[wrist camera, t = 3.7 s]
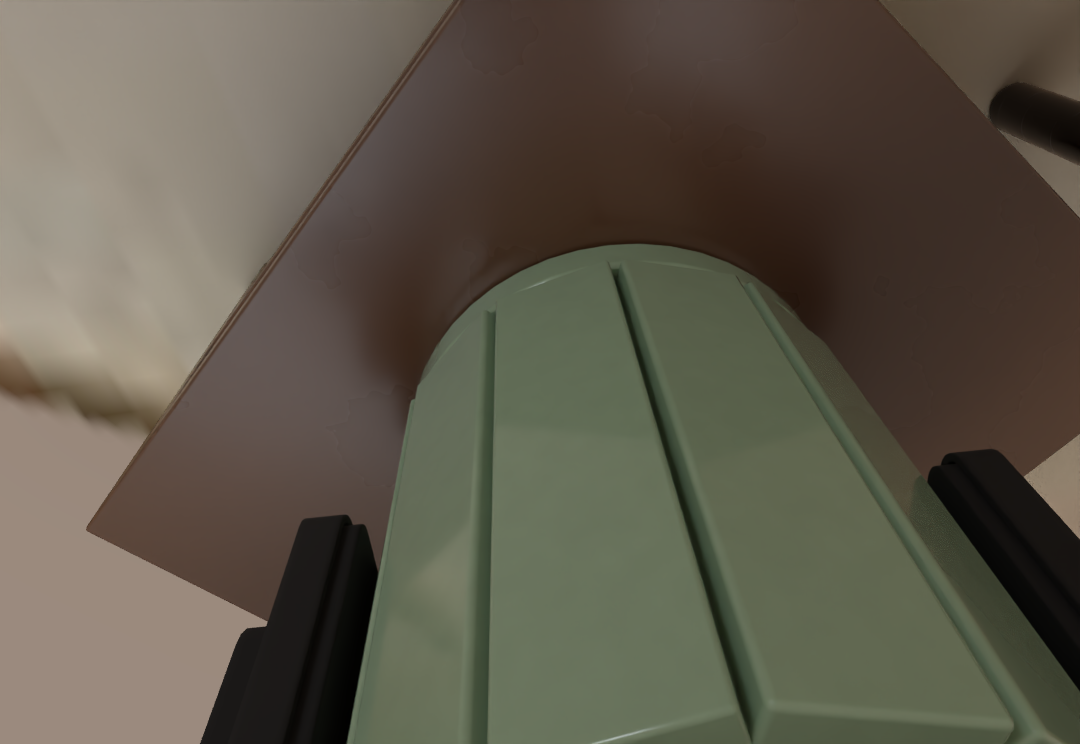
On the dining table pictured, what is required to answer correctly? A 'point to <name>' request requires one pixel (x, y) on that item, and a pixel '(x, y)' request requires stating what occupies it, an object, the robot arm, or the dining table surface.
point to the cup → (676, 537)
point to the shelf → (615, 219)
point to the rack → (1039, 119)
